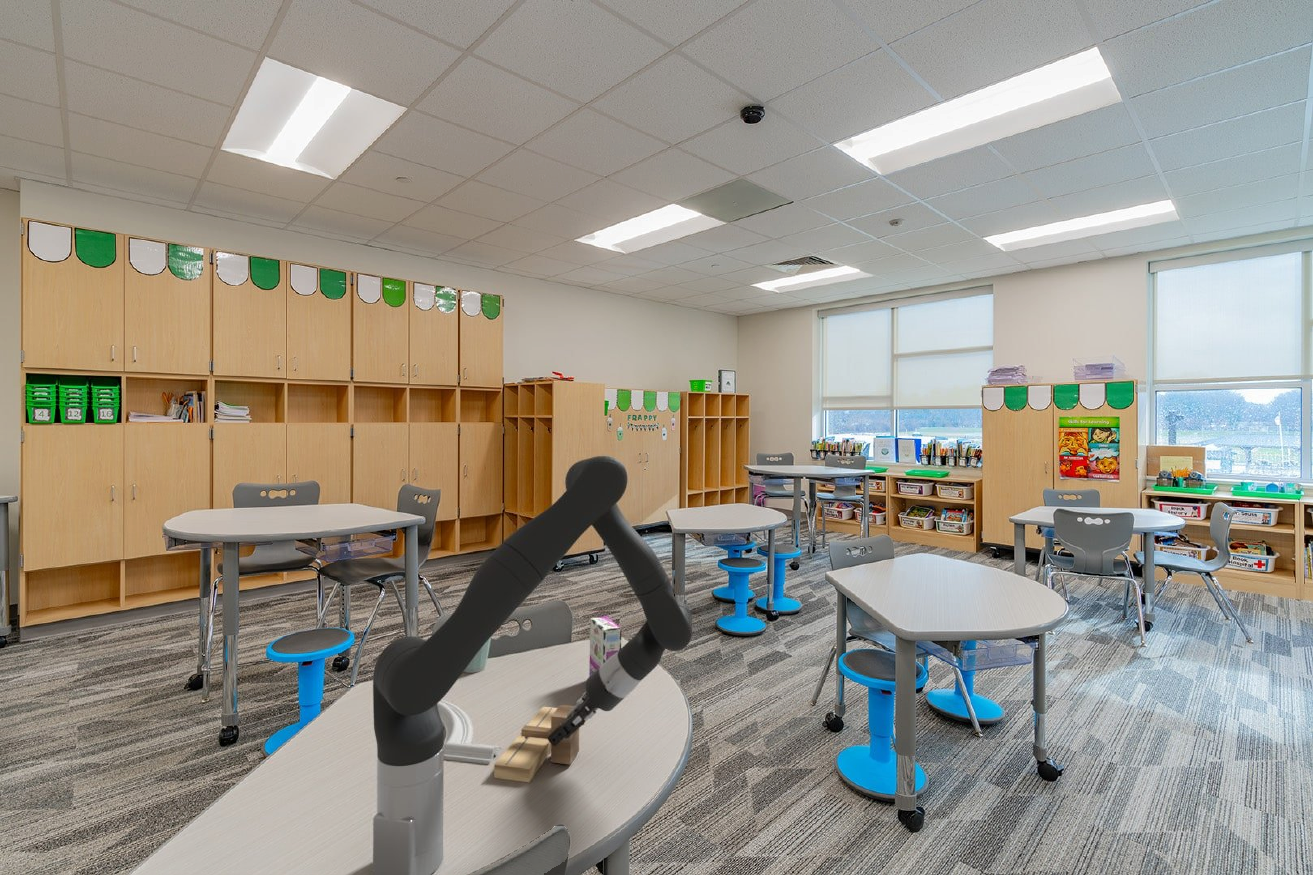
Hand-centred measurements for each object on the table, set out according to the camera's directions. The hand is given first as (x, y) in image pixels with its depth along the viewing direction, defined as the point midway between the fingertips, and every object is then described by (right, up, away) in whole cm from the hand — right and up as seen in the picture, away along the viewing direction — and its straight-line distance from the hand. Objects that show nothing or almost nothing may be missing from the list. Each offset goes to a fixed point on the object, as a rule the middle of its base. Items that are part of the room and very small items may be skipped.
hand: (556, 734), depth 118 cm
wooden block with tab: (-2, -4, 0) cm, 5 cm away
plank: (-5, -5, +4) cm, 8 cm away
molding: (-25, -5, +15) cm, 30 cm away
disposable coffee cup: (-30, -4, +44) cm, 53 cm away
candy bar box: (+7, -5, +34) cm, 35 cm away
